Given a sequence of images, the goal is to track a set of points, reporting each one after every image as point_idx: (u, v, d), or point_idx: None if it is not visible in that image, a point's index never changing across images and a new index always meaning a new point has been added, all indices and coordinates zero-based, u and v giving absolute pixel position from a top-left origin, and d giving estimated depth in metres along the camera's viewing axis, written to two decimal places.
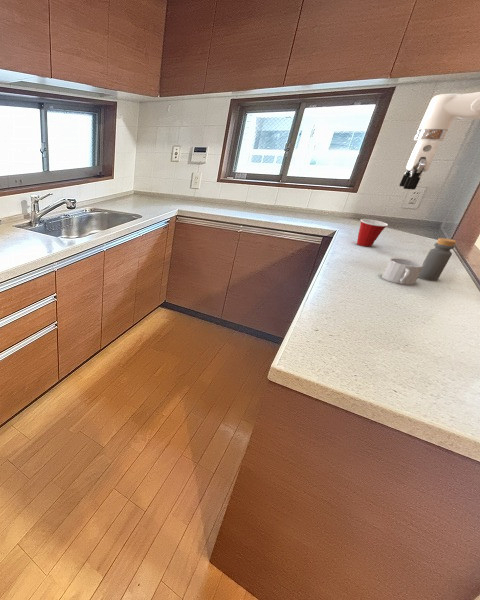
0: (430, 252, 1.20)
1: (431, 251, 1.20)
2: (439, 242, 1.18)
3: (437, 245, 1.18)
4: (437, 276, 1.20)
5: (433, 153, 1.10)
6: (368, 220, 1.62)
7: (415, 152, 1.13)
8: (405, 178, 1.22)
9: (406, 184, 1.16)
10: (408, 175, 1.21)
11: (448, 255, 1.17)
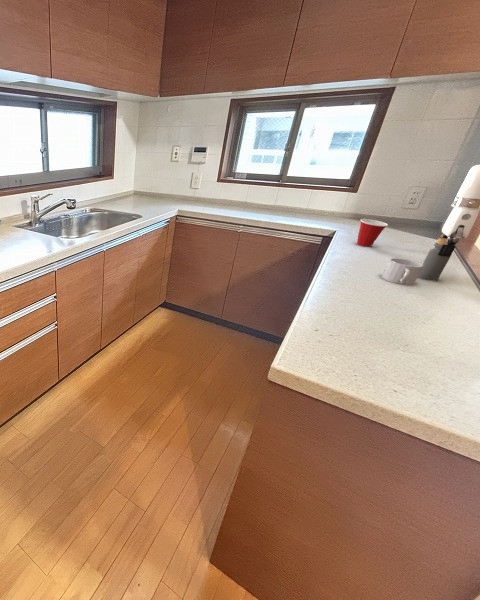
0: (430, 252, 1.20)
1: (431, 251, 1.20)
2: (439, 242, 1.18)
3: (437, 245, 1.18)
4: (437, 276, 1.20)
5: (472, 222, 1.09)
6: (368, 220, 1.62)
7: (453, 219, 1.12)
8: None
9: (441, 251, 1.17)
10: None
11: None
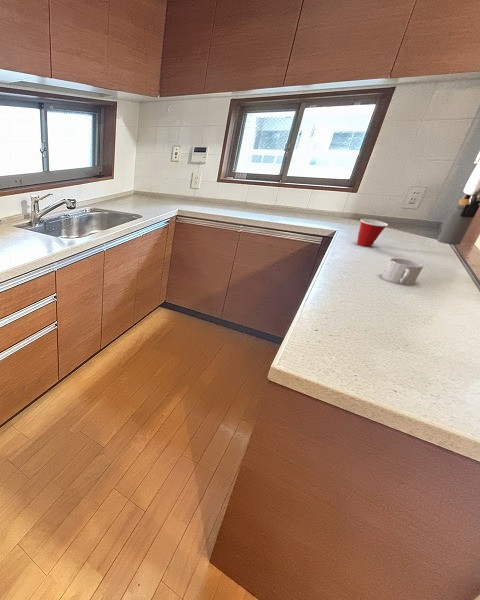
0: (451, 214, 1.14)
1: (452, 213, 1.13)
2: (461, 203, 1.11)
3: (459, 206, 1.12)
4: (460, 239, 1.14)
5: None
6: (368, 220, 1.62)
7: (477, 176, 1.06)
8: None
9: (463, 212, 1.10)
10: None
11: None
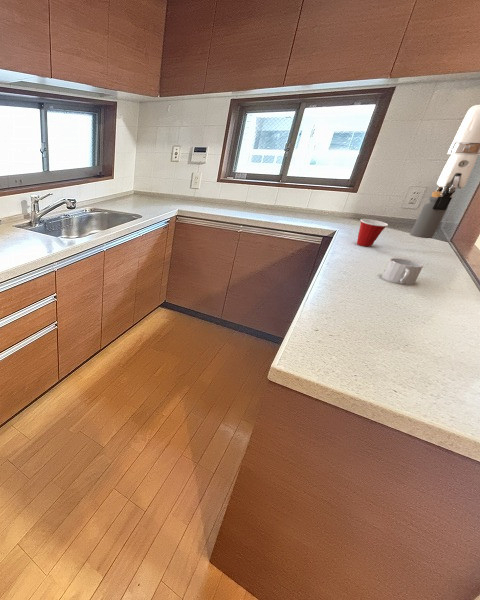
0: (424, 207, 1.11)
1: (425, 206, 1.10)
2: (434, 195, 1.08)
3: (432, 198, 1.09)
4: (432, 233, 1.11)
5: (470, 169, 1.00)
6: (368, 220, 1.62)
7: (449, 167, 1.03)
8: None
9: (436, 204, 1.07)
10: None
11: None
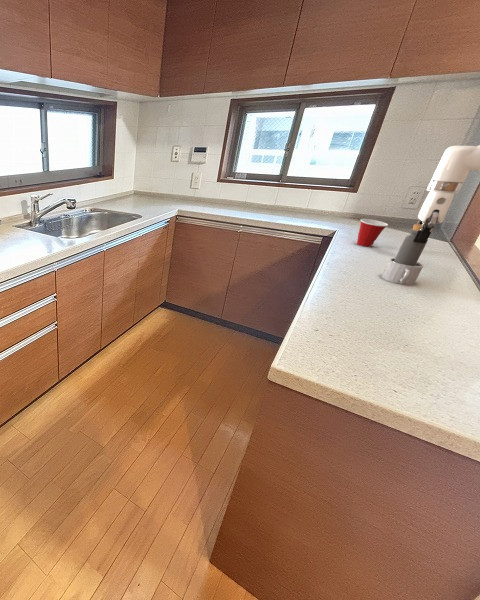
0: (406, 239, 1.15)
1: (407, 238, 1.15)
2: (414, 228, 1.13)
3: (412, 231, 1.13)
4: (413, 264, 1.16)
5: (447, 206, 1.04)
6: (368, 220, 1.62)
7: (428, 203, 1.08)
8: None
9: (416, 237, 1.12)
10: None
11: None
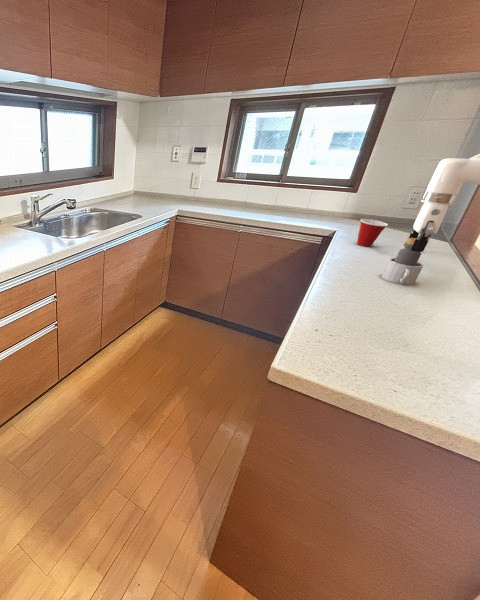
0: (400, 252, 1.18)
1: (401, 251, 1.17)
2: (408, 242, 1.15)
3: (406, 245, 1.16)
4: None
5: (442, 217, 1.06)
6: (368, 220, 1.62)
7: (423, 214, 1.09)
8: (412, 237, 1.18)
9: (413, 246, 1.12)
10: (415, 234, 1.18)
11: (417, 255, 1.14)
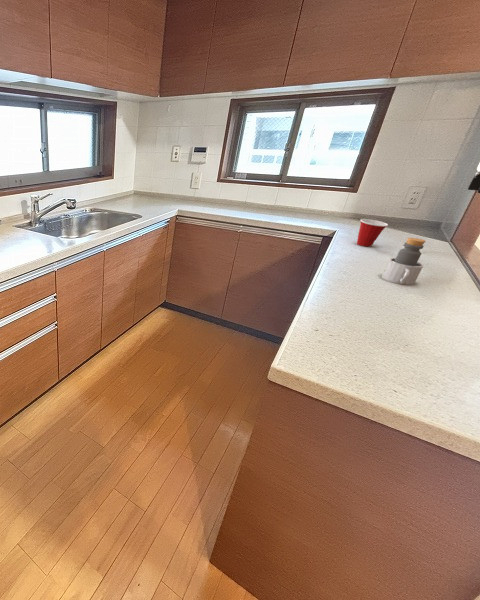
0: (400, 252, 1.18)
1: (401, 251, 1.17)
2: (408, 242, 1.15)
3: (406, 245, 1.16)
4: None
5: None
6: (368, 220, 1.62)
7: None
8: (475, 181, 1.10)
9: None
10: (479, 177, 1.10)
11: (417, 255, 1.14)
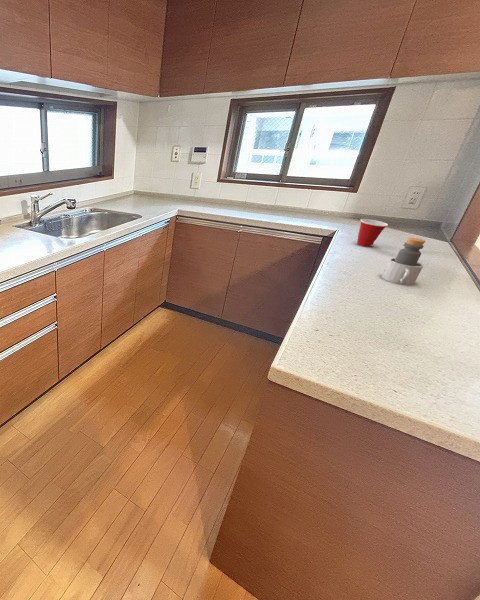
0: (400, 252, 1.18)
1: (401, 251, 1.17)
2: (408, 242, 1.15)
3: (406, 245, 1.16)
4: None
5: None
6: (368, 220, 1.62)
7: None
8: None
9: None
10: None
11: (417, 255, 1.14)
